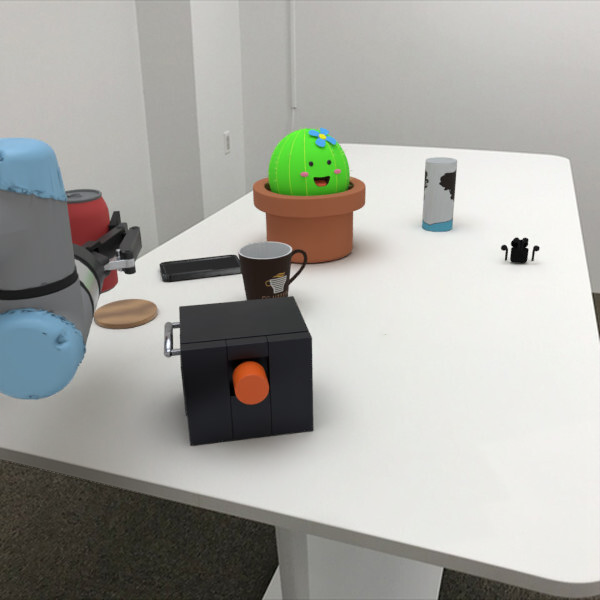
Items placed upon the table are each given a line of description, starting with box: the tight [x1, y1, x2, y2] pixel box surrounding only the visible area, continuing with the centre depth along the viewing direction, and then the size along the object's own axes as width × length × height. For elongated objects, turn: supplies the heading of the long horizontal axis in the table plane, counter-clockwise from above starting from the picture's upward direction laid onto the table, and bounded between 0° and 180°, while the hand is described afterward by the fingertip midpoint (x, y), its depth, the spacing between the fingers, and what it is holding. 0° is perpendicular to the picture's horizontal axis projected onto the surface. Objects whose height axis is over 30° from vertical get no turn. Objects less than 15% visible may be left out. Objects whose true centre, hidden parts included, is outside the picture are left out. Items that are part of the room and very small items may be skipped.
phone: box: [158, 254, 242, 282], centre depth 123 cm, size 8×1×15 cm
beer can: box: [65, 188, 119, 295], centre depth 79 cm, size 7×7×12 cm
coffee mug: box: [237, 241, 308, 300], centre depth 105 cm, size 12×9×10 cm
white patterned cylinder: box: [421, 156, 458, 233], centre depth 143 cm, size 7×7×15 cm
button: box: [233, 361, 269, 404], centre depth 69 cm, size 3×4×4 cm
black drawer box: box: [163, 295, 314, 447], centre depth 76 cm, size 12×16×12 cm
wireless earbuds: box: [500, 236, 541, 264], centre depth 123 cm, size 7×2×5 cm, turn 82°
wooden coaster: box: [93, 298, 159, 330], centre depth 105 cm, size 10×10×1 cm
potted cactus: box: [252, 125, 366, 264], centre depth 128 cm, size 22×22×25 cm
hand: (88, 223), depth 84 cm, fingers closed on beer can, 7 cm apart
